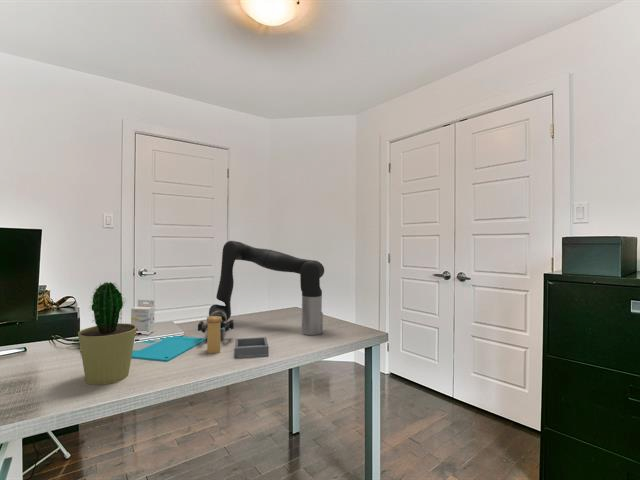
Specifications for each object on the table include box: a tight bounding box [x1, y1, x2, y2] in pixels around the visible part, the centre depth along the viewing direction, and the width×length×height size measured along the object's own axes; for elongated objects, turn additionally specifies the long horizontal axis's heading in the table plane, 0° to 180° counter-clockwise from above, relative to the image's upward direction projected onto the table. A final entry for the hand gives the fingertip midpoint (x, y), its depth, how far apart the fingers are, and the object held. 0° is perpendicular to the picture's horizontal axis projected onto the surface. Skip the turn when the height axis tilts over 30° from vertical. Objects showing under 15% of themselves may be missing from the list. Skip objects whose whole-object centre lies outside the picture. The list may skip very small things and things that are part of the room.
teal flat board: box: [131, 335, 207, 362], centre depth 134 cm, size 26×28×1 cm
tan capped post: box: [206, 316, 222, 354], centre depth 130 cm, size 5×5×13 cm
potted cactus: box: [77, 281, 137, 386], centre depth 104 cm, size 15×15×30 cm
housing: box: [234, 336, 270, 359], centre depth 129 cm, size 12×12×4 cm
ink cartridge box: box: [130, 299, 156, 332], centre depth 152 cm, size 9×5×15 cm, turn 84°
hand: (215, 329), depth 135 cm, fingers open, 8 cm apart
